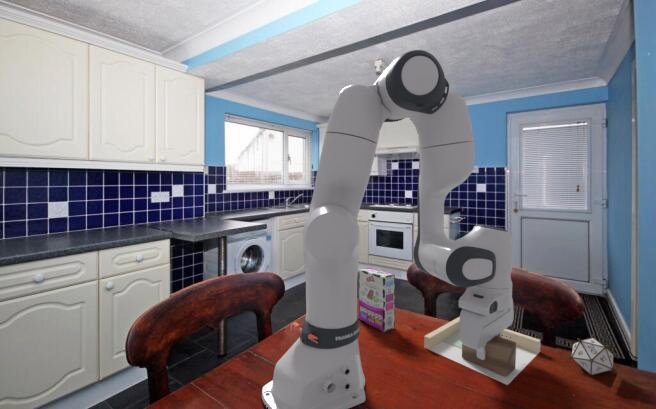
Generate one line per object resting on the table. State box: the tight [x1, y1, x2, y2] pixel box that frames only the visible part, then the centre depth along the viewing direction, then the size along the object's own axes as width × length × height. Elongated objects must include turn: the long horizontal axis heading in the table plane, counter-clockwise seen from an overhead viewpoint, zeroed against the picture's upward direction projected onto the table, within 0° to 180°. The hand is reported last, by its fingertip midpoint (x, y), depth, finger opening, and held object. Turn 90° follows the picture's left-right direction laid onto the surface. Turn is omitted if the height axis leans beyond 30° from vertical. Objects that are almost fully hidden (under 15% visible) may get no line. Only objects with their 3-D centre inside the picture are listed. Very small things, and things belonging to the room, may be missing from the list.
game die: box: [567, 333, 618, 376], centre depth 71 cm, size 9×8×10 cm
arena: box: [423, 316, 541, 386], centre depth 80 cm, size 20×20×4 cm
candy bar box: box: [358, 267, 396, 333], centre depth 96 cm, size 11×5×16 cm, turn 36°
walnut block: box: [462, 336, 516, 377], centre depth 73 cm, size 5×10×6 cm, turn 40°
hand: (488, 353), depth 73 cm, fingers closed on walnut block, 5 cm apart
